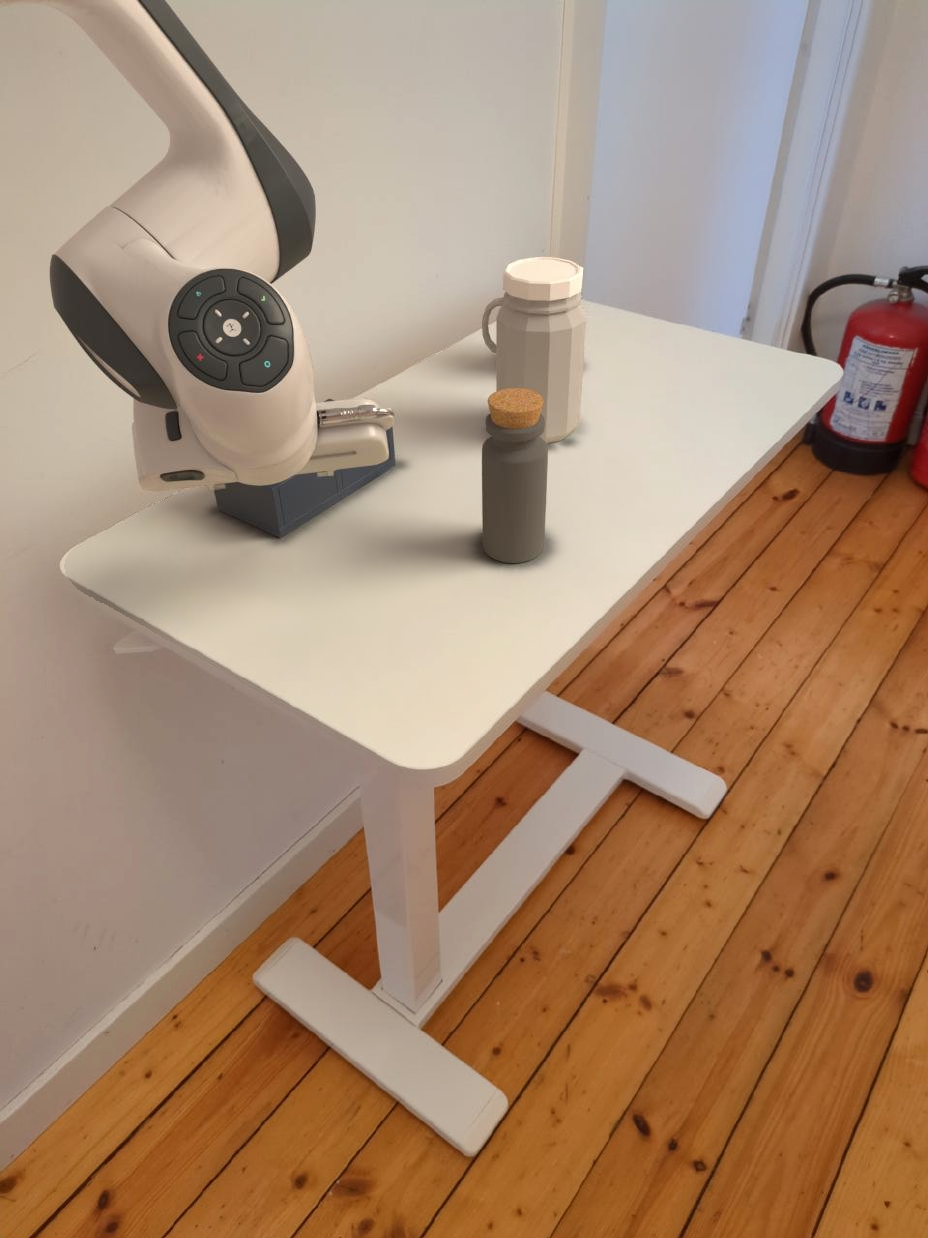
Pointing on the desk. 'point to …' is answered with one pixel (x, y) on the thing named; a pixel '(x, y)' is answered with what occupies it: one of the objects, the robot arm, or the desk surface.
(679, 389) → the desk surface
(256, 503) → the rack
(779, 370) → the desk surface
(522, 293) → the jar
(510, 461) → the bottle
